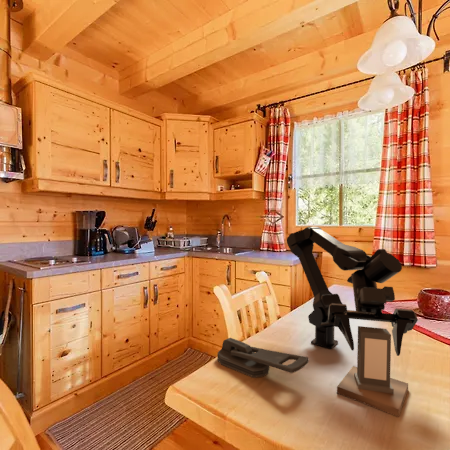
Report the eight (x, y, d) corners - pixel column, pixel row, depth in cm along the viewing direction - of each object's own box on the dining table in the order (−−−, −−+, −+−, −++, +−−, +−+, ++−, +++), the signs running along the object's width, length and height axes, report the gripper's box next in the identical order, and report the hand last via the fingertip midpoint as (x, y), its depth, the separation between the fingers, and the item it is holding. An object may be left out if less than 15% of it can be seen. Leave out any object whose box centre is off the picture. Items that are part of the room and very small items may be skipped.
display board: (353, 371, 73) (353, 365, 73) (408, 389, 66) (408, 383, 66) (337, 393, 64) (337, 386, 64) (398, 417, 56) (398, 409, 56)
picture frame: (354, 376, 68) (355, 324, 68) (386, 381, 66) (387, 327, 66) (358, 388, 63) (359, 332, 63) (393, 393, 62) (394, 336, 61)
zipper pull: (292, 370, 61) (212, 336, 79) (292, 401, 61) (212, 360, 79) (312, 356, 68) (234, 328, 85) (312, 384, 68) (234, 350, 85)
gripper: (329, 270, 71) (333, 332, 60) (415, 275, 66) (436, 342, 55) (326, 294, 78) (329, 352, 68) (403, 300, 74) (419, 363, 63)
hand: (375, 352), depth 63 cm, fingers open, 9 cm apart
